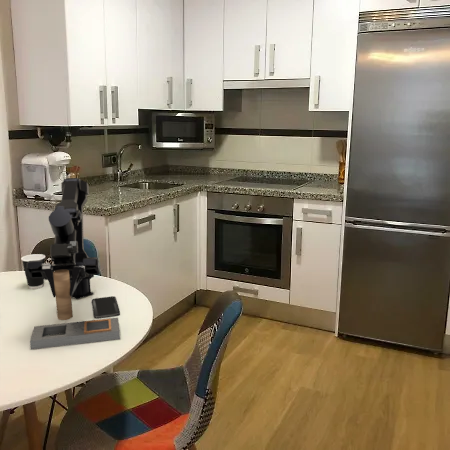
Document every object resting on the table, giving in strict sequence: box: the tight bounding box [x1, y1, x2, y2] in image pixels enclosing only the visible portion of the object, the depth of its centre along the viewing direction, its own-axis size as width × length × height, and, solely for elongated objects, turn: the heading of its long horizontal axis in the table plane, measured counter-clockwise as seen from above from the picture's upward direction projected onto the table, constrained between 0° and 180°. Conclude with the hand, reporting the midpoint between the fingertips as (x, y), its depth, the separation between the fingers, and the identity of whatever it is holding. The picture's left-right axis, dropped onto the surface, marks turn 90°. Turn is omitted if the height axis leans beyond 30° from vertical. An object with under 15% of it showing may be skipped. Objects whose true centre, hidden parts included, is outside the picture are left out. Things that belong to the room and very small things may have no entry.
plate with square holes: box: [29, 317, 121, 350], centre depth 133 cm, size 23×9×3 cm, turn 105°
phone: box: [91, 295, 121, 320], centre depth 153 cm, size 8×1×15 cm
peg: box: [53, 269, 74, 321], centre depth 129 cm, size 4×4×13 cm
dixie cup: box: [20, 253, 46, 290], centre depth 170 cm, size 8×8×11 cm
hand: (62, 296), depth 128 cm, fingers closed on peg, 4 cm apart
